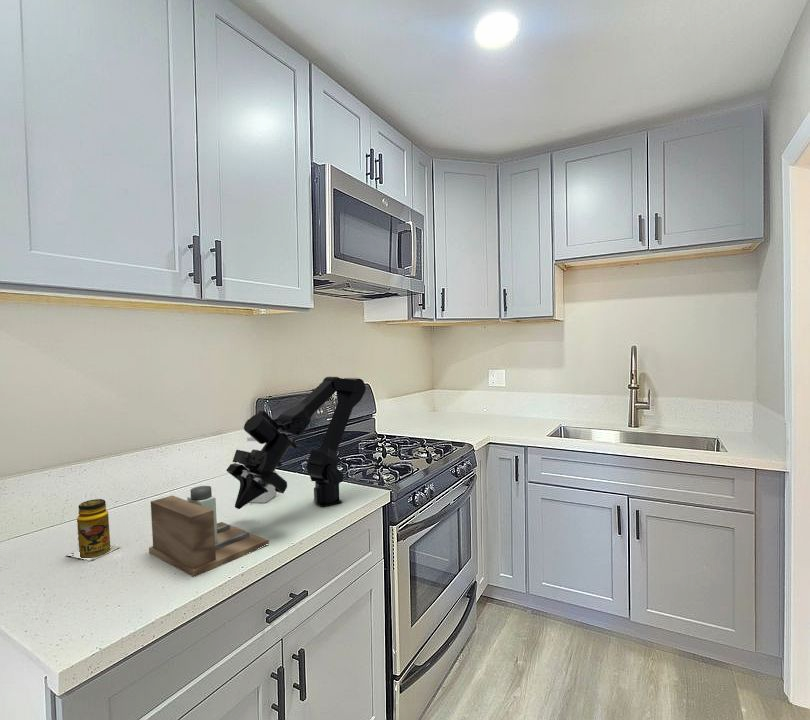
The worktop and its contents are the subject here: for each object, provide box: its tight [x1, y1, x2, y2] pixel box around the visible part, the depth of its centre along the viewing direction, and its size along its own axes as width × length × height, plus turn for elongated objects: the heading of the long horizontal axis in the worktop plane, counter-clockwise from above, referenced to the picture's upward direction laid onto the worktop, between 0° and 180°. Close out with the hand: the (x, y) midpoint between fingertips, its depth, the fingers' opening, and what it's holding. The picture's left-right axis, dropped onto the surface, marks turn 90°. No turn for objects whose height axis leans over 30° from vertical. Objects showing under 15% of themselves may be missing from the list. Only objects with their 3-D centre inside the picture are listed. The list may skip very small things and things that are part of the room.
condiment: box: [70, 498, 121, 562], centre depth 110 cm, size 7×8×12 cm
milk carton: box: [241, 436, 278, 504], centre depth 144 cm, size 7×7×19 cm
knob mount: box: [148, 494, 270, 577], centre depth 109 cm, size 18×20×12 cm
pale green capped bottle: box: [186, 485, 218, 544], centre depth 108 cm, size 4×6×13 cm
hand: (236, 508), depth 115 cm, fingers closed
